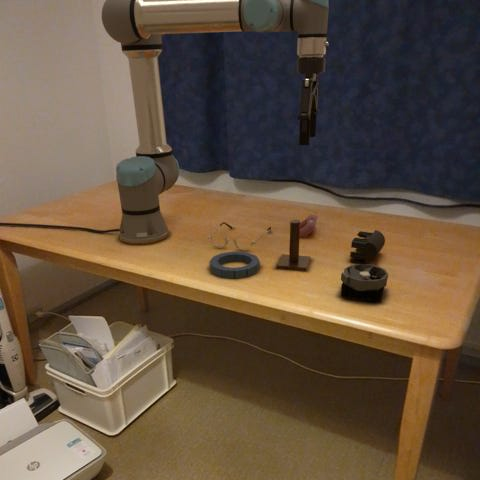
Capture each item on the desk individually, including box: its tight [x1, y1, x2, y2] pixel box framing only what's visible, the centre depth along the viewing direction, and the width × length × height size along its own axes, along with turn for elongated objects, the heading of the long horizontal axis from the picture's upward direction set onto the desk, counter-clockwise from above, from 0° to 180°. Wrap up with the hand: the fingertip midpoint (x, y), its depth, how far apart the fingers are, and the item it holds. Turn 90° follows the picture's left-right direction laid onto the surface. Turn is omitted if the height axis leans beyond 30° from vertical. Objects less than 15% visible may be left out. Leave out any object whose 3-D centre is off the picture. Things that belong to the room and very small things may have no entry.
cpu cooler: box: [340, 263, 389, 304], centre depth 113 cm, size 10×6×10 cm
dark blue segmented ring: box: [209, 251, 261, 279], centre depth 129 cm, size 13×13×2 cm
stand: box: [276, 219, 312, 272], centre depth 128 cm, size 8×8×12 cm
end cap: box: [349, 229, 386, 265], centre depth 131 cm, size 10×7×7 cm
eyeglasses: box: [208, 221, 272, 252], centre depth 147 cm, size 16×19×5 cm
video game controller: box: [300, 213, 319, 239], centre depth 150 cm, size 10×5×7 cm, turn 168°
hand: (307, 140), depth 138 cm, fingers open, 13 cm apart
